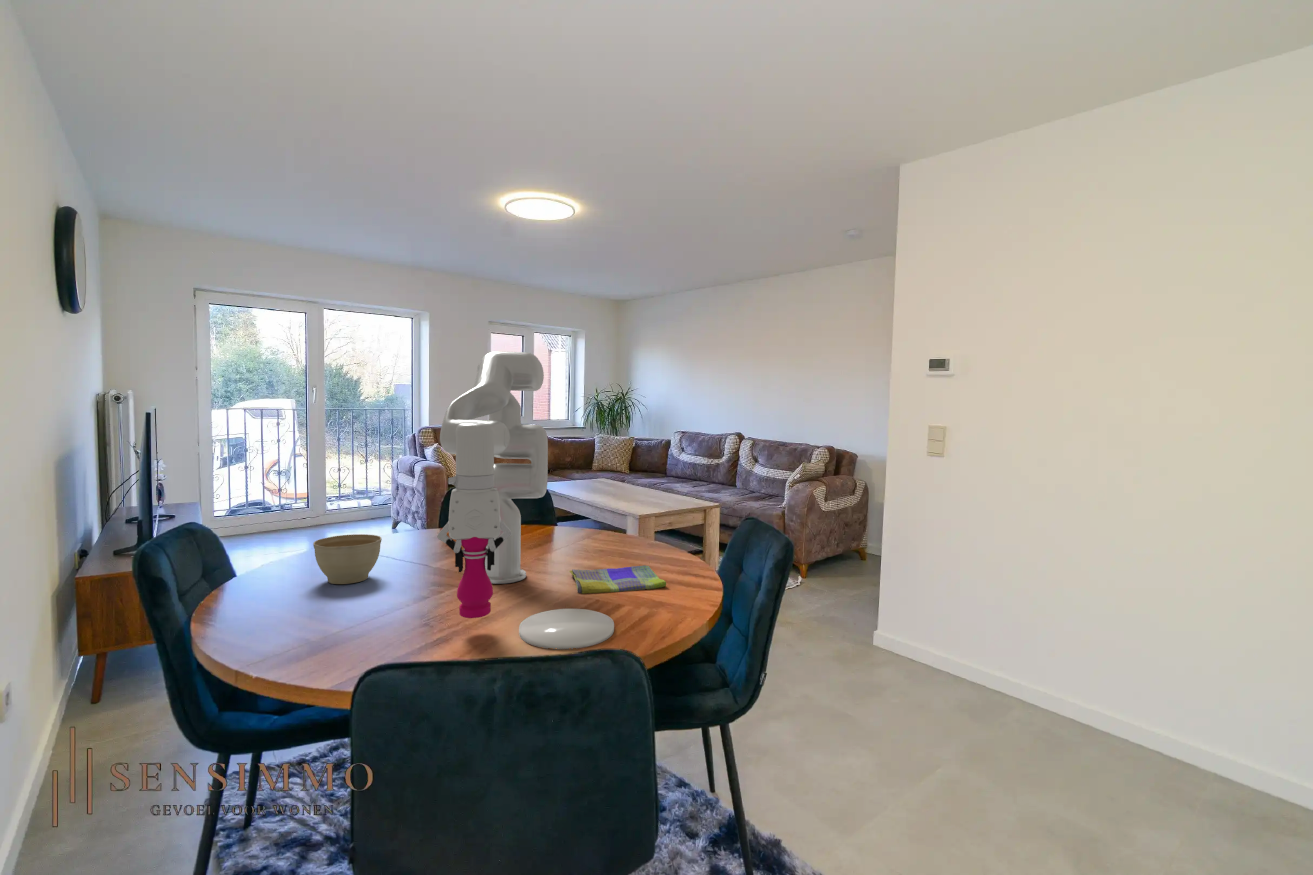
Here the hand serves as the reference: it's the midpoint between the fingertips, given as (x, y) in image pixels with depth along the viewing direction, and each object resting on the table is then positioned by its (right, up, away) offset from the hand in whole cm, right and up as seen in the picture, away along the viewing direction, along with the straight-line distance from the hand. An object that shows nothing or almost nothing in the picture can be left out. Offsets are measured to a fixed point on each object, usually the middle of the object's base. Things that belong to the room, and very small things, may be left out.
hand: (475, 568), depth 123 cm
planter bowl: (-45, -11, +36) cm, 58 cm away
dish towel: (+27, -13, +39) cm, 49 cm away
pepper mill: (0, -10, +1) cm, 10 cm away
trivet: (+19, -14, +3) cm, 23 cm away
